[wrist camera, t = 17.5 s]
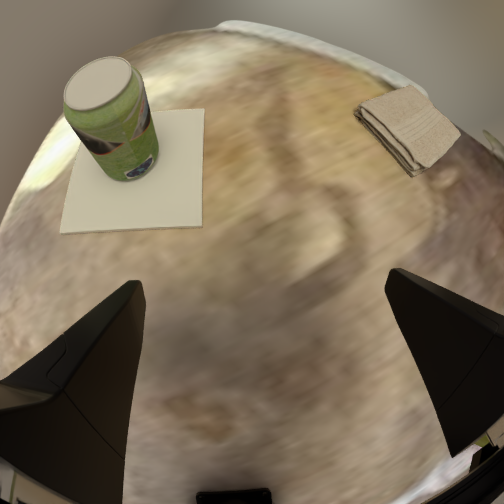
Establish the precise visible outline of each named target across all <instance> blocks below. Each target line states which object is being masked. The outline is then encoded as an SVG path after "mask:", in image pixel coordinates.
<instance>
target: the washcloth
mask: <svg viewBox="0 0 504 504" xmlns="http://www.w3.org/2000/svg"><path fill="white" fill-rule="evenodd" d="M358 109H359V110H358V111H356V112H355V113H354V114H353V115H354V116H358V117H359V118H360V119H361V122H362V123H363V125H364V127H365V128H366V129H367V130H368V131H369V132H370V133H371V134H372V135H373V136H374V138H376V140H378V141H379V142H380V143H381V144H382V145H383V146H384V147H385V148H386V149H387V150H388V152H389V153H390V154H391V155H392V156H393V157H394V159H395V160H396V161H397V162H398V163H399V164H400V165H401V166H402V168H403V169H404V170H405V171H406V172H407V173H408V174H409V175H410V176H412V177H415V176H417V175H418V174H420V173H421V172H423V171H424V170H426V169H427V168H430V167H431V166H432V165H433V164H434V163H435V162H436V161H437V160H438V159H439V158H441V157H442V156H443V155H444V154H445V153H446V152H447V151H448V149H449V148H450V147H451V146H452V145H453V144H454V142H455V141H456V140H457V139H458V138H459V136H460V135H461V134H460V132H459V131H458V130H457V129H456V128H455V126H454V125H453V124H452V123H451V122H450V121H449V119H447V118H446V117H445V116H443V115H442V114H441V113H440V112H439V111H438V110H437V109H436V108H434V106H433V104H432V103H431V102H430V101H429V100H428V99H427V98H426V97H425V96H424V95H423V94H422V93H421V92H420V91H418V89H416V88H415V87H414V86H412V85H409V86H406V87H403V88H400V89H398V90H395V91H390V92H389V93H386V94H383V95H382V96H379V97H376V98H373V99H370V100H369V99H368V100H366V101H365V102H362V103H361V104H359V105H358Z"/></svg>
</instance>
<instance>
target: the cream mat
mask: <svg viewBox="0 0 504 504" xmlns="http://www.w3.org/2000/svg"><path fill="white" fill-rule="evenodd" d="M204 115H205V109H182V110H167V111H155V112H151V116H152V120H153V124H154V128H155V132H156V136H157V139H158V144H159V152H158V156H157V158H156V161H155V162H154V164H153V165H152V167H151V168H150V169H149V170H148V171H147V172H146V173H144V174H143V175H141V176H139V177H137V178H135V179H132V180H127V181H120V180H115V179H112V178H111V177H109V176H108V175H107V174H105V172H104V171H103V170H102V168H101V167H100V166H99V164H98V163H97V162H96V160H95V159H94V158H93V156H92V155H91V154H90V152H89V151H88V149H87V148H86V147H85V145H84V144H83V143H82V141H81V143H80V146H79V149H78V152H77V156H76V159H75V163H74V166H73V170H72V174H71V178H70V182H69V186H68V191H67V195H66V200H65V205H64V210H63V215H62V221H61V226H60V234H61V235H67V234H83V233H99V232H116V231H135V230H157V229H182V228H202V178H203V139H204Z"/></svg>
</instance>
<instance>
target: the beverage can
mask: <svg viewBox="0 0 504 504" xmlns="http://www.w3.org/2000/svg"><path fill="white" fill-rule="evenodd" d="M64 115H65V118H66V120H67V121H68V123H69V124H70V126H71V127H72V129H73V130H74V131H75V133H76V134H77V136H78V137H79V138H80V140H81V141H82V143H83V144H84V145H85V147H86V148H87V149H88V151H89V152H90V154H91V155H92V156H93V158H94V159H95V160H96V162H97V163H98V164H99V166H100V167H101V168H102V170H103V171H104V172H105V174H107V175H108V176H109V177H111V178H112V179H115V180H120V181H127V180H132V179H135V178H137V177H139V176H141V175H143V174H144V173H146V172H147V171H148V170H149V169H150V168H151V167H152V165H153V164H154V162H155V161H156V158H157V156H158V152H159V144H158V139H157V136H156V132H155V128H154V124H153V120H152V116H151V112H150V108H149V104H148V100H147V96H146V91H145V87H144V82H143V79H142V76H141V74H140V72H139V71H138V70H137V69H136V68H135V67H133V66H132V65H130V64H129V62H128V61H126V60H125V59H123V58H120V57H104V58H100V59H97V60H95V61H92V62H90V63H88V64H87V65H85V66H83V67H82V68H81V69H80V70H78V71H77V72H76V73H75V74H74V75H73V76H72V77H71V79H70V80H69V82H68V83H67V85H66V87H65V91H64Z"/></svg>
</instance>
